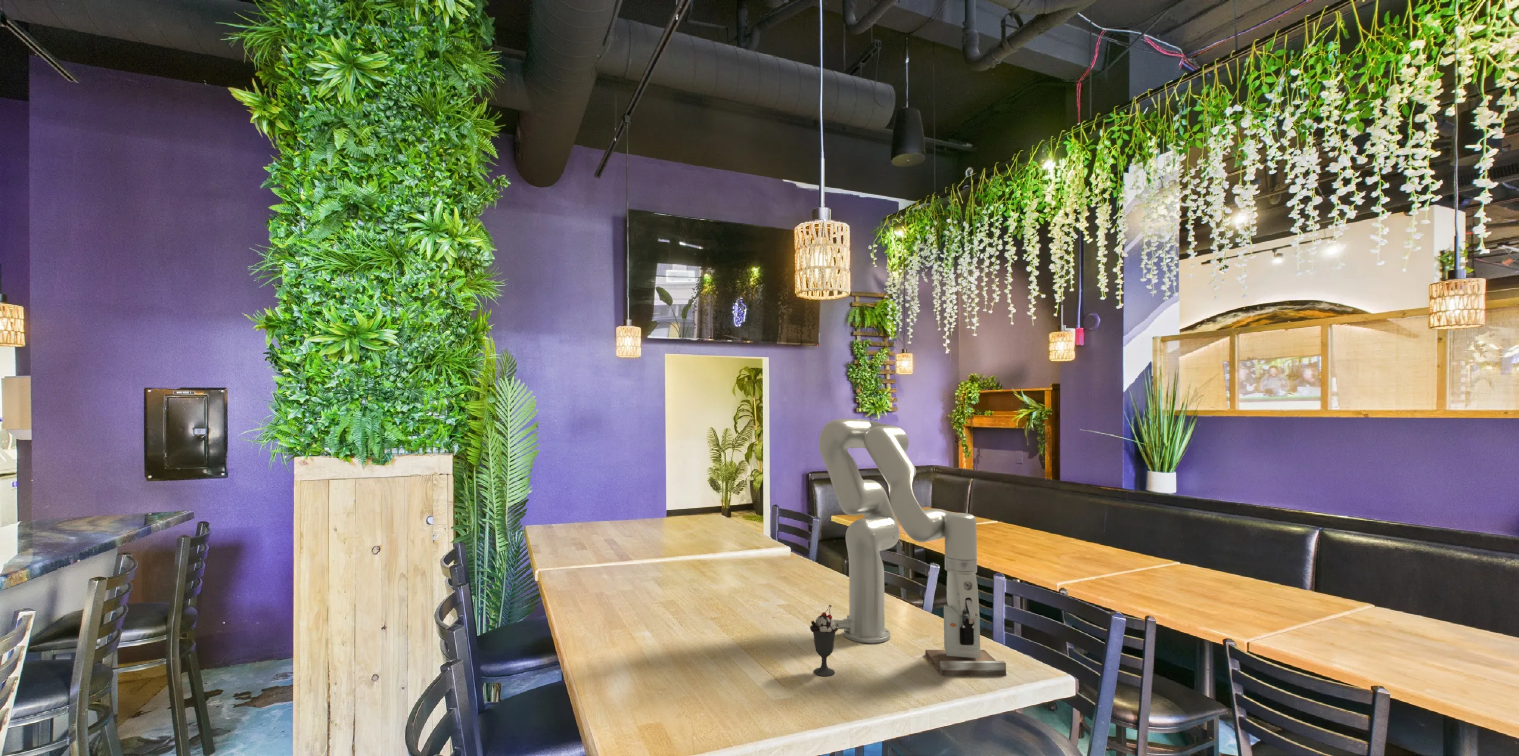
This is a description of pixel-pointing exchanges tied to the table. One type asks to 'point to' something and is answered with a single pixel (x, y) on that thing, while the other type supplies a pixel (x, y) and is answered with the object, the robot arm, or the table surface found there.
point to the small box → (953, 635)
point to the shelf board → (966, 664)
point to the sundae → (824, 641)
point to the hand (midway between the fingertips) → (961, 638)
